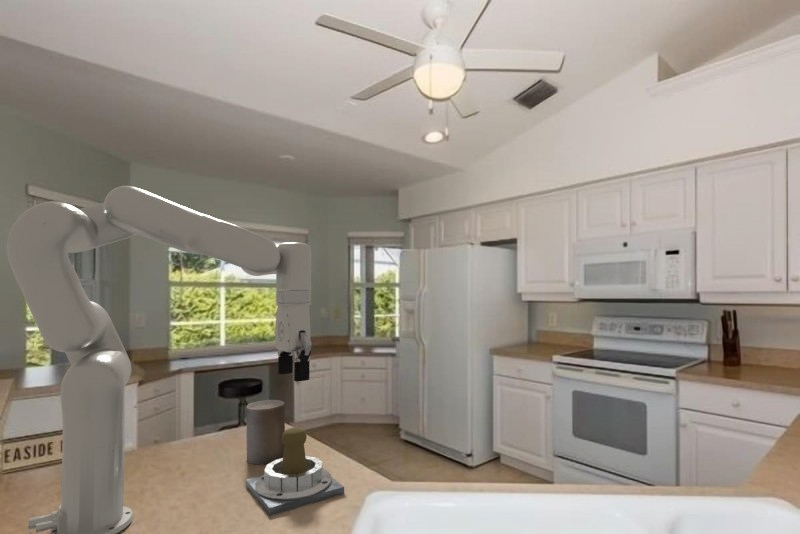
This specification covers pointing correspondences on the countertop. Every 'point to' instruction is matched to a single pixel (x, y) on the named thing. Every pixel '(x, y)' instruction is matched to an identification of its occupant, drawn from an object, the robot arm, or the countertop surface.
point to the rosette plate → (293, 503)
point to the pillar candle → (265, 431)
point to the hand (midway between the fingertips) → (293, 377)
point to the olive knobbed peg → (294, 451)
